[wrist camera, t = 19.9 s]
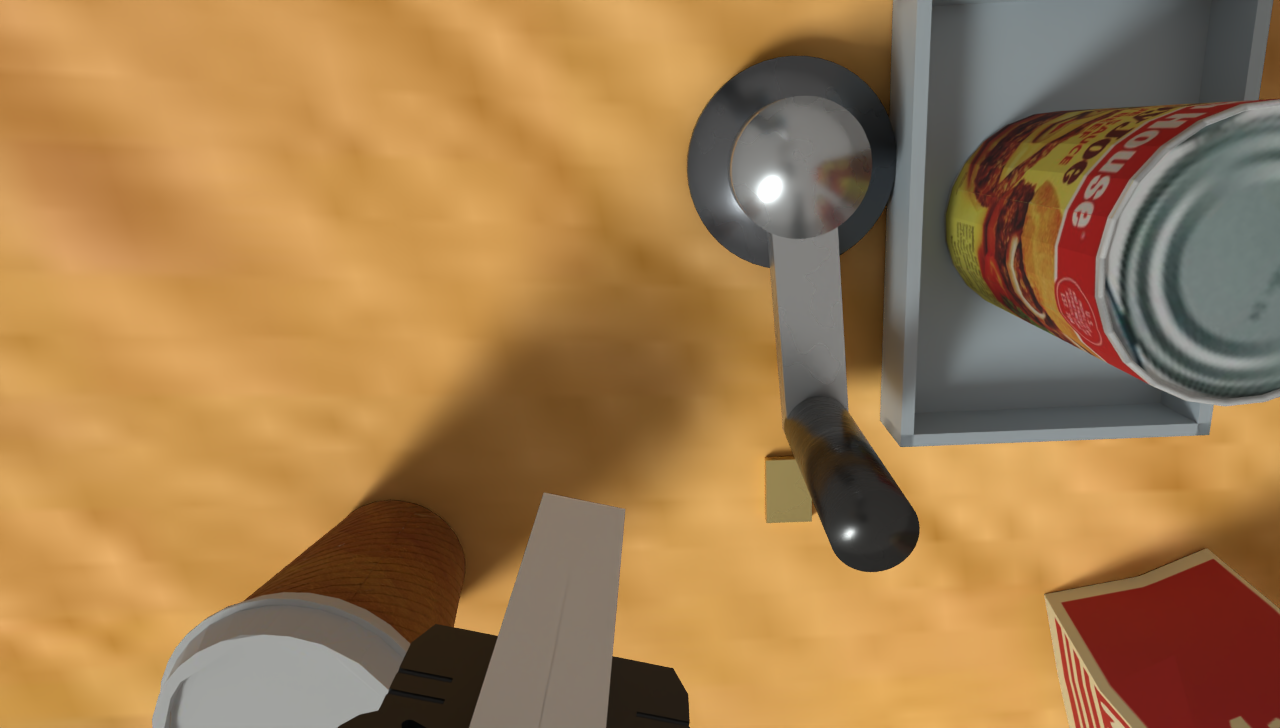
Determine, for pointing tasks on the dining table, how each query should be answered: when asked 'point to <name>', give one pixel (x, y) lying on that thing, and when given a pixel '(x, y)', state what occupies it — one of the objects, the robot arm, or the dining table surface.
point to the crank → (819, 315)
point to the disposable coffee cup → (320, 628)
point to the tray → (949, 133)
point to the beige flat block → (786, 491)
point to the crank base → (747, 98)
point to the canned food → (1135, 239)
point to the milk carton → (1168, 650)
